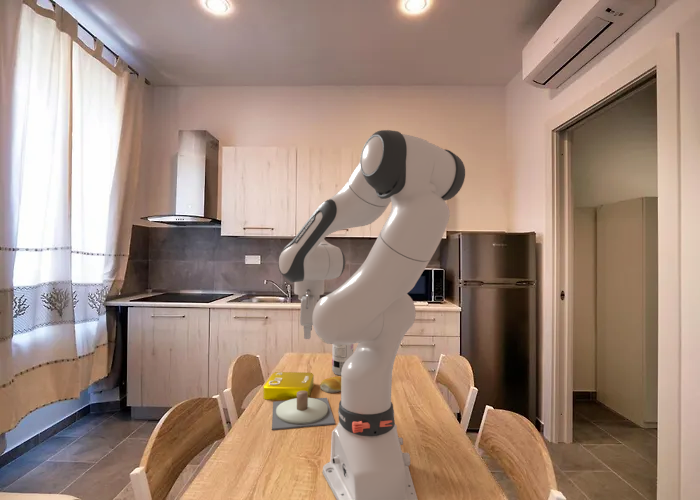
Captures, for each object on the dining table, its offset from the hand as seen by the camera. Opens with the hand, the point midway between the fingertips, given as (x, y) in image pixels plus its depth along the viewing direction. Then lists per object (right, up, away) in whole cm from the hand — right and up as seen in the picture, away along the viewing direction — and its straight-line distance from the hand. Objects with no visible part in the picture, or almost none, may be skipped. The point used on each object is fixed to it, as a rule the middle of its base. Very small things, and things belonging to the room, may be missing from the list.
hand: (308, 334), depth 103 cm
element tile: (-8, -24, +15) cm, 29 cm away
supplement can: (+10, -24, +34) cm, 42 cm away
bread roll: (+7, -24, +18) cm, 30 cm away
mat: (-2, -23, -1) cm, 23 cm away
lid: (-2, -23, -1) cm, 23 cm away
